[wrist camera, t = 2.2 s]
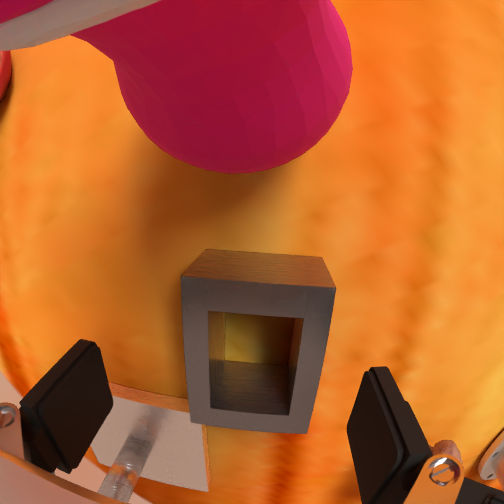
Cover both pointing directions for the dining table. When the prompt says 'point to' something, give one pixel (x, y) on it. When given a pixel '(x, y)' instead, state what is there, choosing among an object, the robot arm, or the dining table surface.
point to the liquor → (4, 72)
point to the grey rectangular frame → (255, 303)
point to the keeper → (150, 443)
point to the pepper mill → (210, 70)
